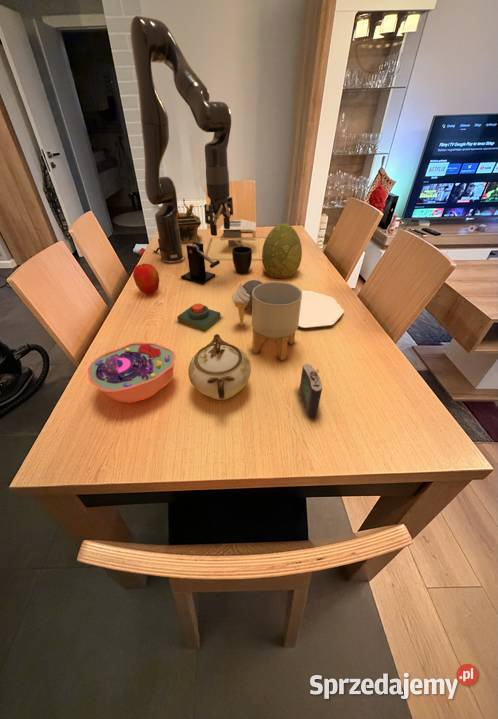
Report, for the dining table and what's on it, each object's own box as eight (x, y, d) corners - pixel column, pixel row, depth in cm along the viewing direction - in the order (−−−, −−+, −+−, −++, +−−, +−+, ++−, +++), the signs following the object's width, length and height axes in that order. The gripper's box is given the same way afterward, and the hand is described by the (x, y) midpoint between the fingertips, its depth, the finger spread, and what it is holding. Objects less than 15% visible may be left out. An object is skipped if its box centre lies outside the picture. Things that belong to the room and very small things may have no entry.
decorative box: (201, 236, 165) (197, 196, 152) (203, 242, 158) (199, 201, 145) (164, 239, 161) (156, 198, 149) (164, 245, 154) (156, 203, 141)
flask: (297, 390, 75) (302, 357, 68) (308, 389, 76) (314, 356, 69) (307, 419, 68) (314, 386, 61) (320, 417, 69) (328, 384, 62)
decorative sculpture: (271, 262, 137) (273, 216, 124) (305, 269, 131) (311, 221, 118) (254, 276, 126) (255, 226, 113) (291, 284, 120) (296, 233, 107)
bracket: (215, 276, 126) (212, 243, 117) (202, 285, 120) (198, 250, 111) (194, 271, 130) (190, 238, 121) (181, 279, 124) (175, 245, 115)
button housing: (178, 322, 99) (176, 311, 97) (194, 309, 105) (193, 299, 103) (205, 331, 95) (203, 320, 93) (220, 318, 101) (220, 307, 99)
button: (190, 311, 97) (190, 307, 96) (197, 307, 100) (196, 302, 99) (199, 314, 96) (199, 310, 95) (206, 309, 98) (205, 305, 97)
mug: (251, 264, 136) (251, 243, 130) (251, 275, 126) (252, 253, 120) (233, 264, 136) (233, 242, 130) (232, 275, 127) (231, 253, 120)
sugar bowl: (256, 415, 69) (256, 367, 59) (190, 422, 68) (180, 374, 58) (246, 360, 84) (245, 315, 74) (192, 365, 83) (184, 319, 73)
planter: (245, 339, 92) (244, 286, 80) (283, 330, 95) (287, 278, 84) (262, 365, 83) (264, 309, 71) (303, 354, 86) (311, 299, 75)
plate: (292, 289, 117) (293, 285, 116) (351, 306, 107) (352, 303, 106) (259, 315, 102) (259, 311, 101) (323, 338, 92) (323, 334, 91)
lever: (219, 265, 119) (220, 260, 117) (211, 269, 116) (213, 265, 114) (195, 247, 120) (196, 242, 118) (187, 251, 117) (188, 246, 115)
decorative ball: (272, 311, 104) (274, 285, 98) (246, 317, 101) (246, 290, 95) (260, 298, 111) (261, 273, 105) (235, 304, 108) (234, 278, 102)
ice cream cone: (252, 322, 99) (252, 280, 89) (246, 331, 95) (246, 288, 85) (236, 319, 100) (235, 277, 91) (230, 328, 96) (228, 285, 87)
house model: (269, 259, 140) (270, 232, 132) (205, 259, 140) (203, 232, 132) (267, 238, 162) (268, 214, 155) (212, 238, 163) (210, 214, 155)
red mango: (153, 300, 110) (146, 269, 103) (132, 297, 113) (124, 266, 105) (166, 289, 117) (160, 259, 109) (146, 286, 119) (139, 256, 111)
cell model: (184, 403, 72) (177, 368, 65) (95, 422, 68) (77, 387, 60) (176, 360, 84) (169, 326, 77) (101, 373, 80) (86, 339, 73)
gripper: (220, 176, 105) (222, 225, 115) (195, 183, 95) (200, 236, 106) (238, 178, 102) (239, 228, 113) (214, 186, 93) (218, 239, 103)
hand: (220, 232), depth 109 cm, fingers open, 8 cm apart
